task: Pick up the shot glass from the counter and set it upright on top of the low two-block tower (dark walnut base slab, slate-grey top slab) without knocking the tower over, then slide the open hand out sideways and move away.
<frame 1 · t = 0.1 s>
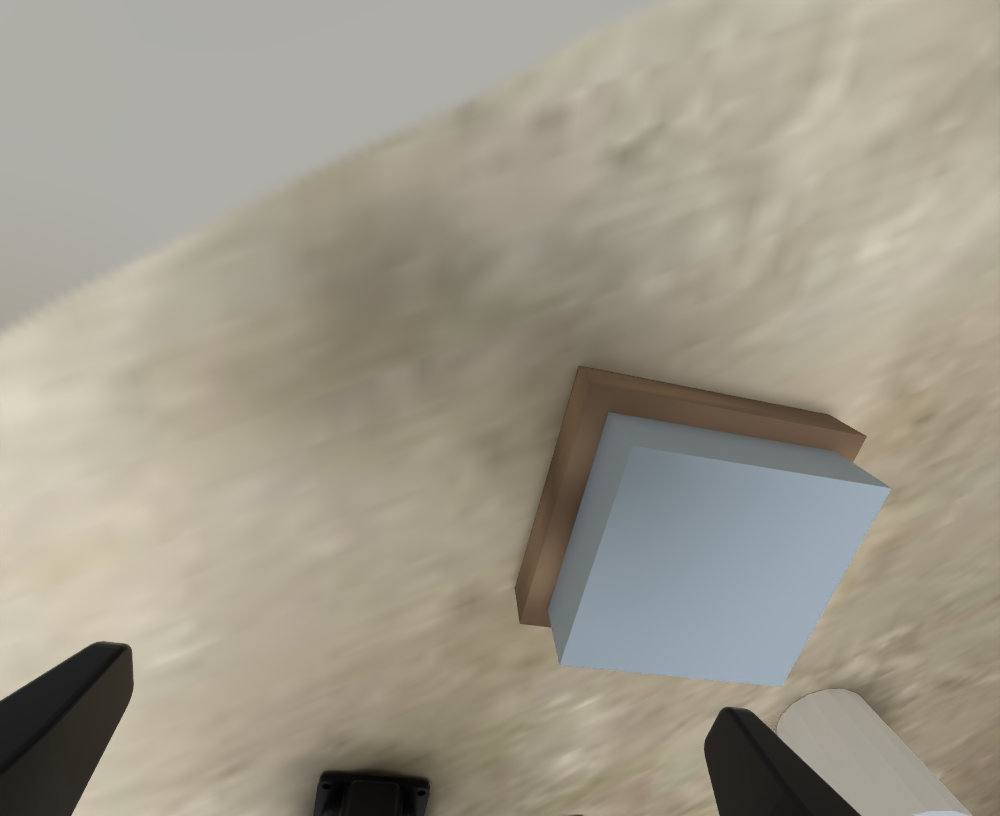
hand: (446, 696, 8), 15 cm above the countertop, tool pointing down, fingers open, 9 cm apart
tower base: (658, 498, 25), on the countertop, touching tower top
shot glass: (819, 718, 31), on the countertop
tower top: (684, 534, 22), point 2 cm above the countertop, touching tower base
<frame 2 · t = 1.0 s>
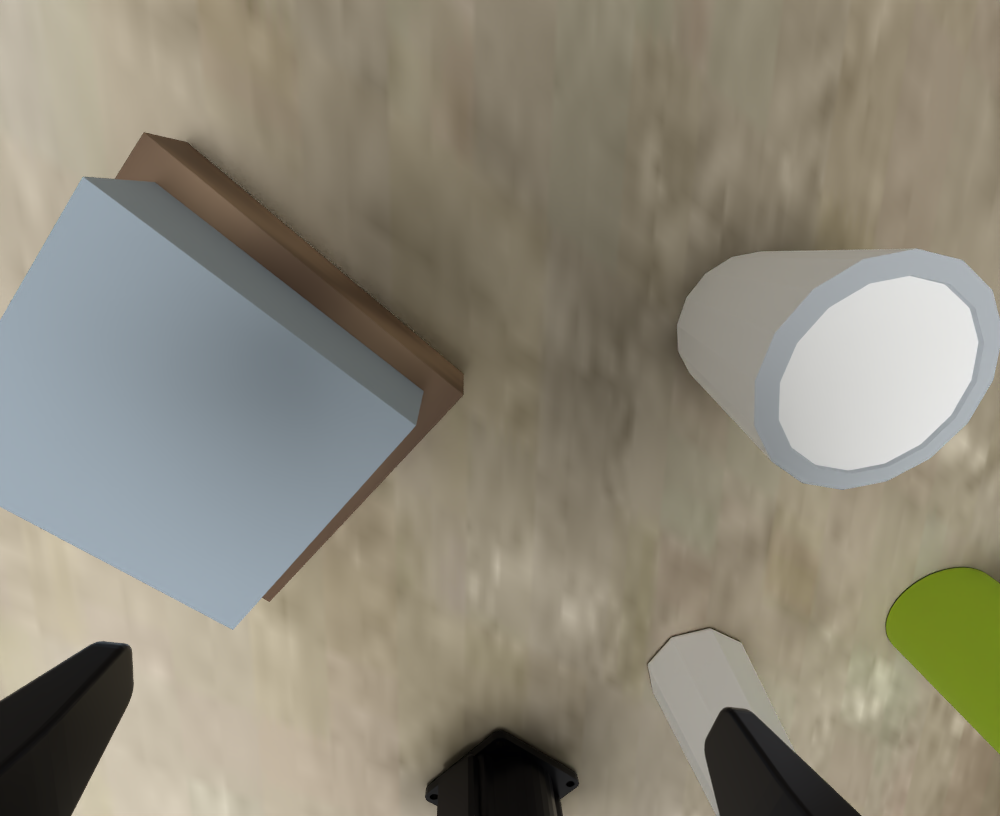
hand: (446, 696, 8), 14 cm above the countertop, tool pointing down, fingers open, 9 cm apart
tower base: (251, 381, 20), on the countertop, touching tower top
soap dispenser: (943, 612, 27), on the countertop
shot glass: (743, 324, 20), on the countertop
pepper shaker: (693, 662, 27), on the countertop
tower top: (218, 406, 17), point 2 cm above the countertop, touching tower base
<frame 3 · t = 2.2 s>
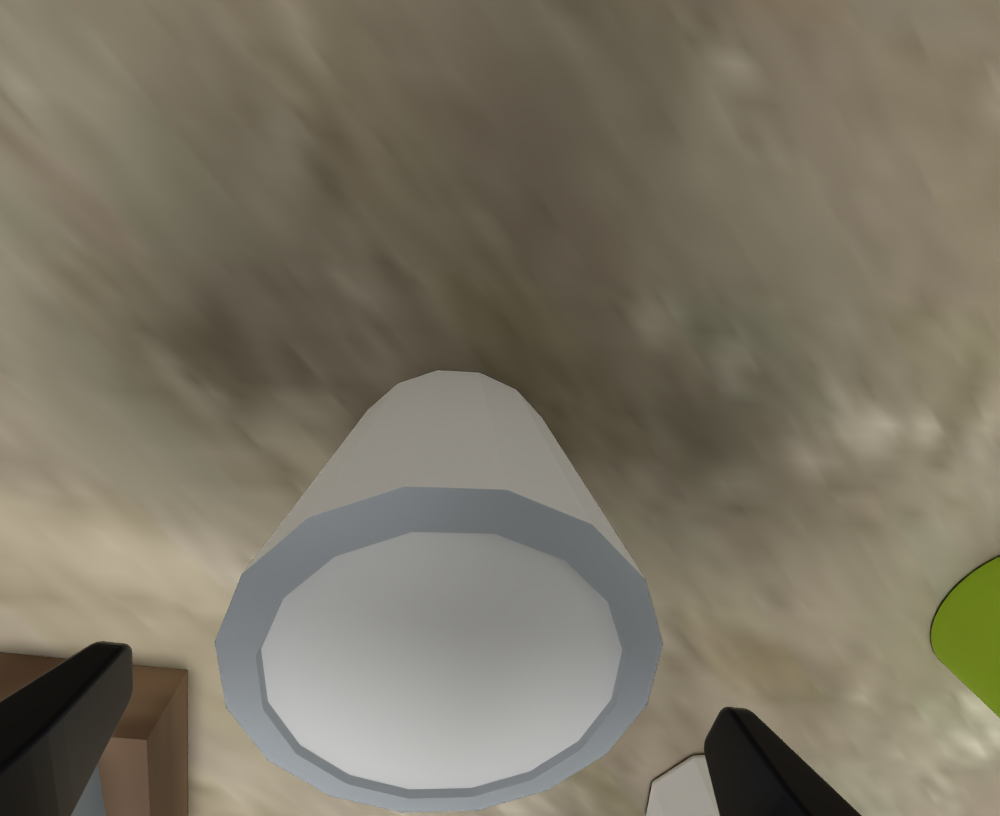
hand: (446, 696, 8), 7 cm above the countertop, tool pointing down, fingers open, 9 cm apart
tower base: (21, 758, 18), on the countertop, touching tower top
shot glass: (453, 461, 14), on the countertop
pepper shaker: (704, 788, 21), on the countertop
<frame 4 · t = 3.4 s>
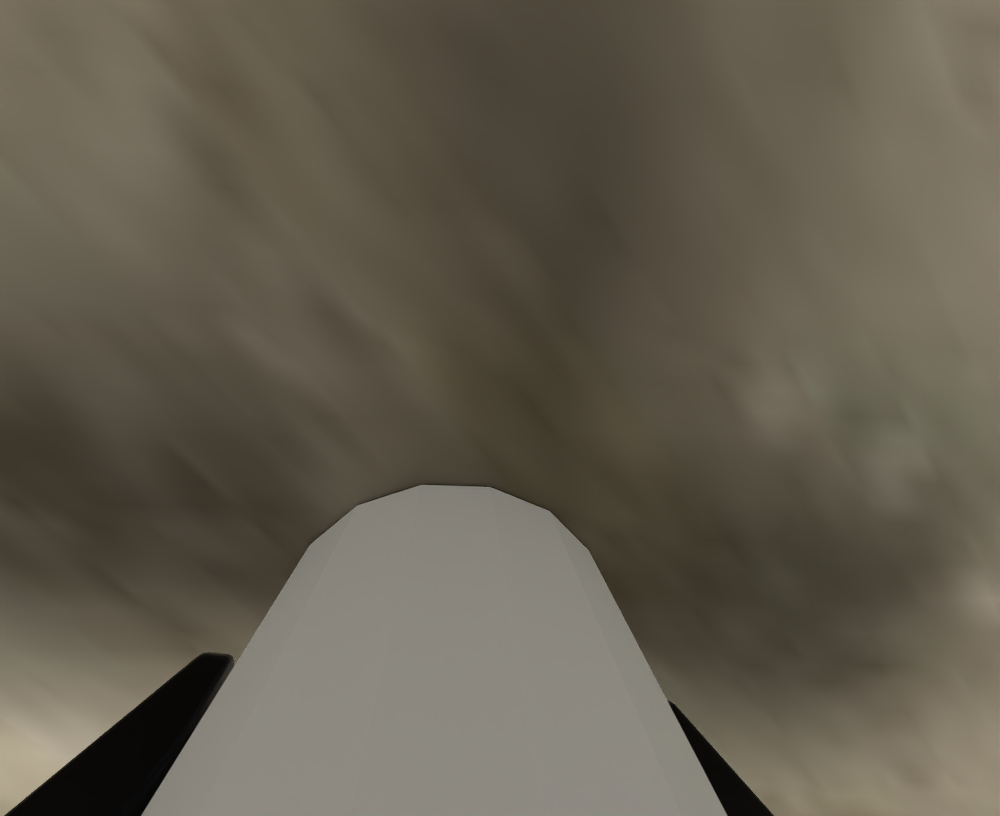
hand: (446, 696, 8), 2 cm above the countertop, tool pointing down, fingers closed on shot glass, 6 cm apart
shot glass: (449, 611, 9), on the countertop, touching gripper
when the fingers open (9 cm above the countertop, at t = 7.3 s): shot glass drops 2 cm, resting on tower top.
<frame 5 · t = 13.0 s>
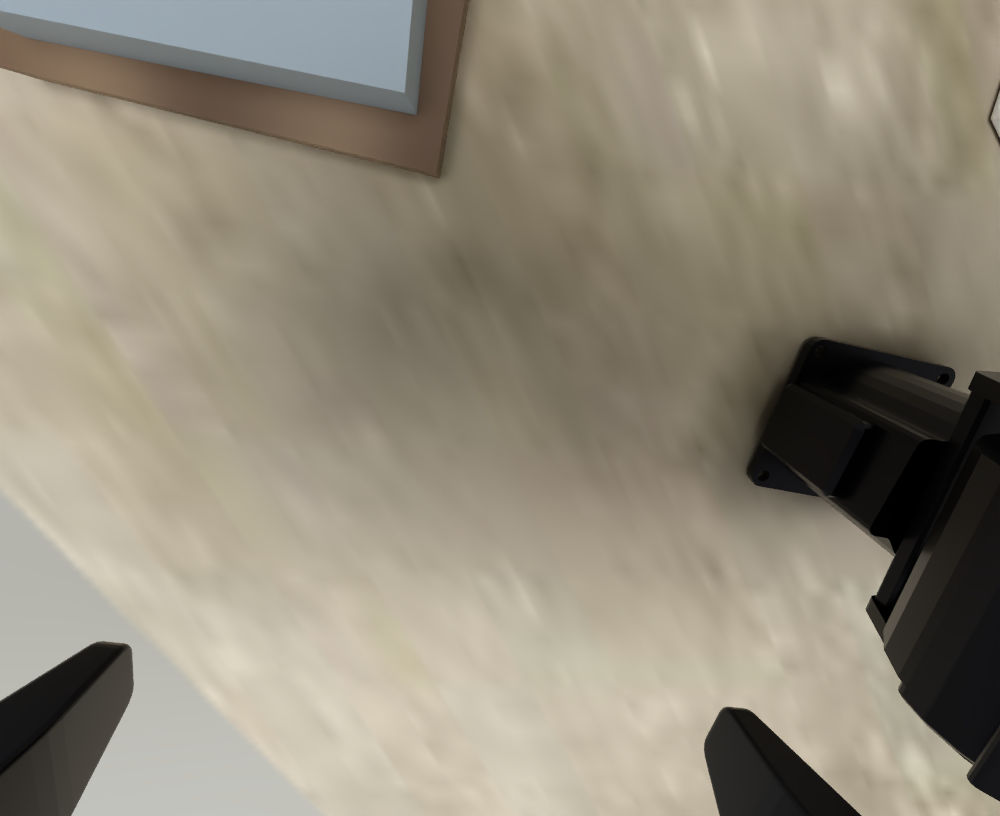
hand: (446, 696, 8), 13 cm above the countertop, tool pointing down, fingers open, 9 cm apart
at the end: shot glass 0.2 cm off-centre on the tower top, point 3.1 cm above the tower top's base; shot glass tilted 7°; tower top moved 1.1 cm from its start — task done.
